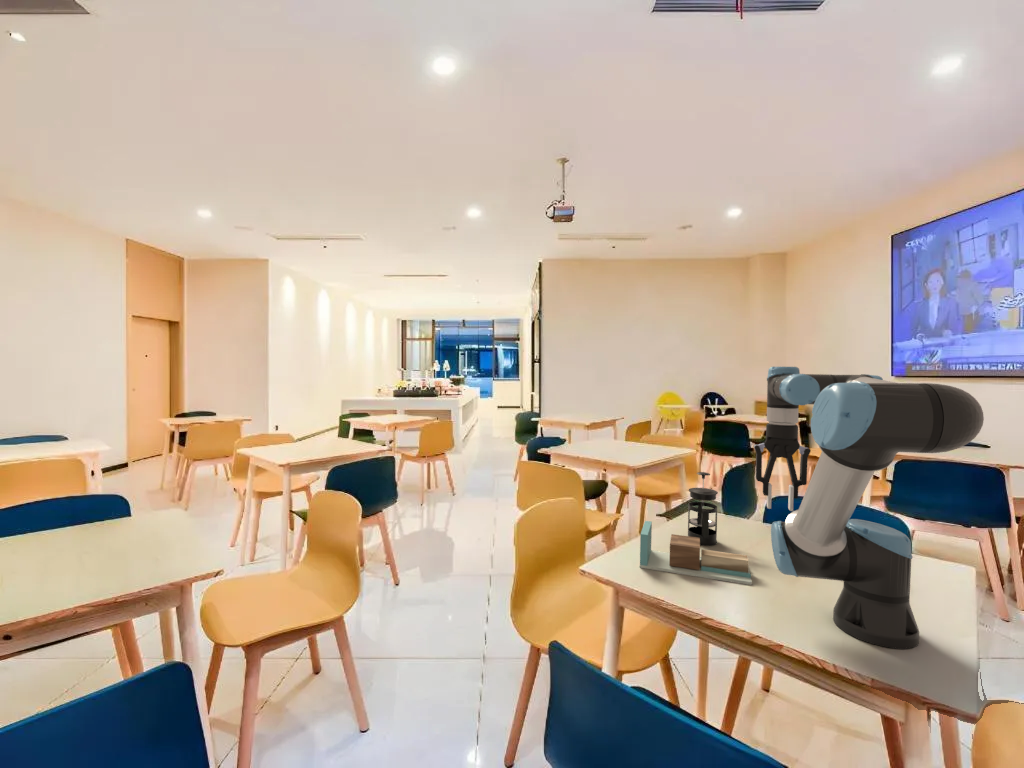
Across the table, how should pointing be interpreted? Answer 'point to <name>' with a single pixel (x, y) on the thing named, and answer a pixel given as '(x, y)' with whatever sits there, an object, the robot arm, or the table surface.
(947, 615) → the table surface
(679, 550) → the block
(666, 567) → the railed board with endplate
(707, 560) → the light wood bar
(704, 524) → the french press
